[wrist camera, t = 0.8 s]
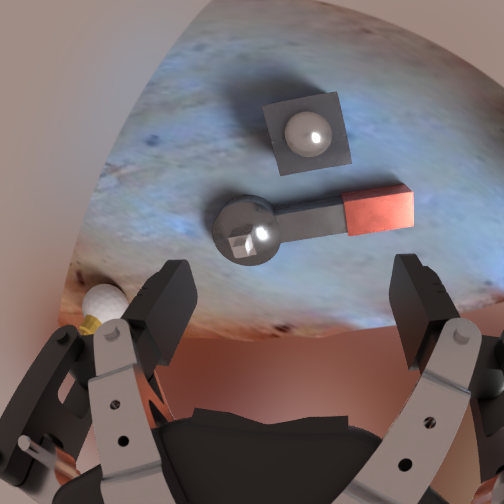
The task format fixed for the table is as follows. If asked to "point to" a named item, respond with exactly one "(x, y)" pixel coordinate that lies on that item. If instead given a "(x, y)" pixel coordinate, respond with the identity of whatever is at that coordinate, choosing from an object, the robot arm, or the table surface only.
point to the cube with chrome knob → (307, 133)
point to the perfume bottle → (102, 307)
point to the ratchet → (306, 221)
